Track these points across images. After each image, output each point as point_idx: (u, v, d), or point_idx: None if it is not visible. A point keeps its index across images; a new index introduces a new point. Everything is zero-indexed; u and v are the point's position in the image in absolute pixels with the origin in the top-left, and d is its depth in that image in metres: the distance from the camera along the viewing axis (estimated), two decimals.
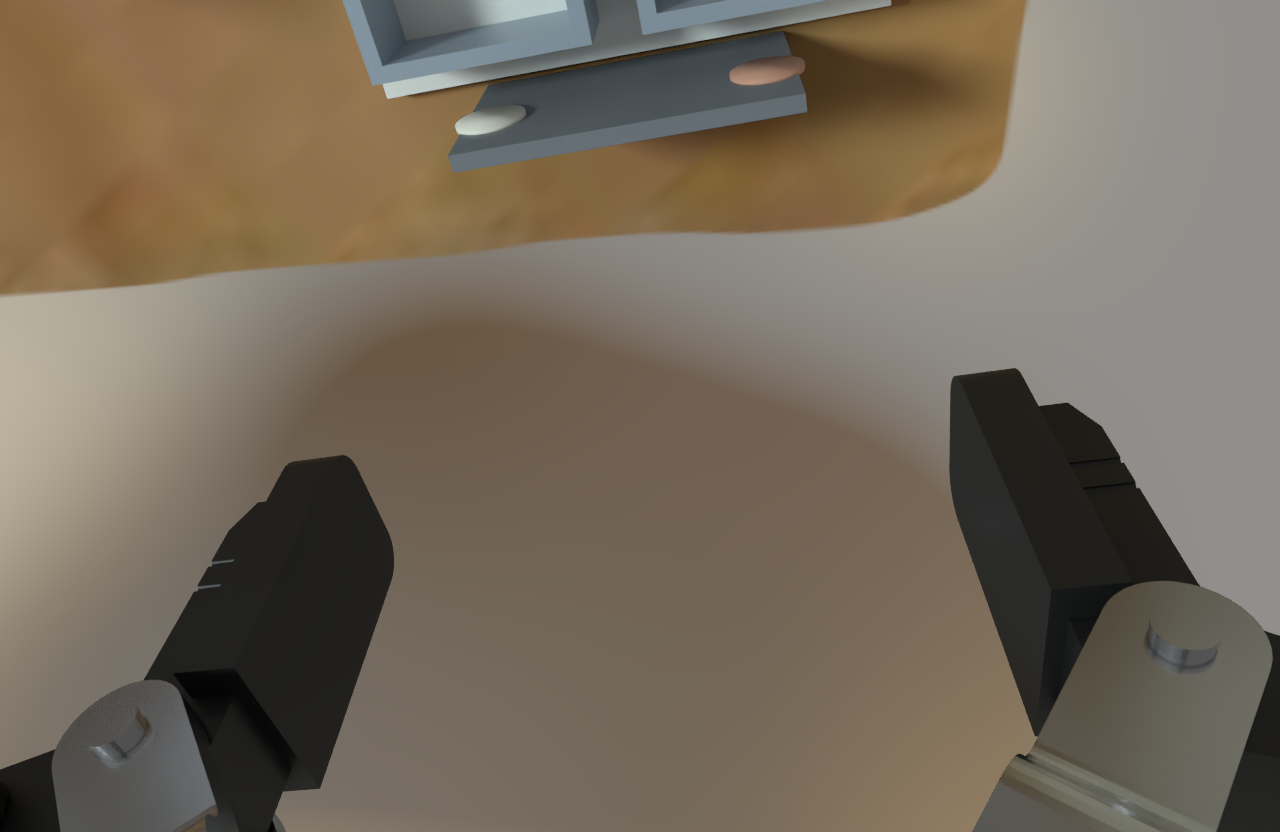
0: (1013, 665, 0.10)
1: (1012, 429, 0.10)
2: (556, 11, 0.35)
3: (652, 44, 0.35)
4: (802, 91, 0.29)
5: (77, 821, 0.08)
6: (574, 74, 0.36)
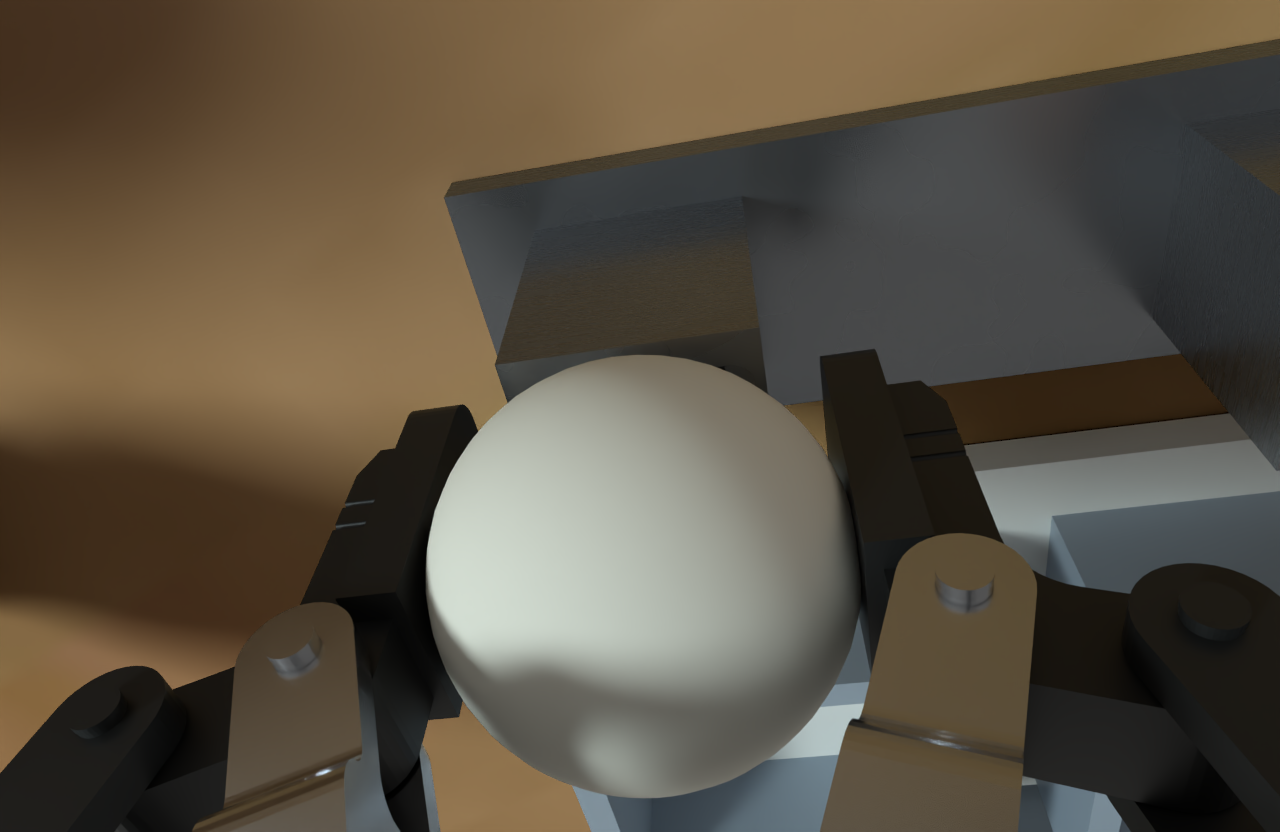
0: (860, 620, 0.11)
1: (858, 403, 0.11)
2: None
3: (1025, 780, 0.23)
4: None
5: (244, 726, 0.08)
6: None
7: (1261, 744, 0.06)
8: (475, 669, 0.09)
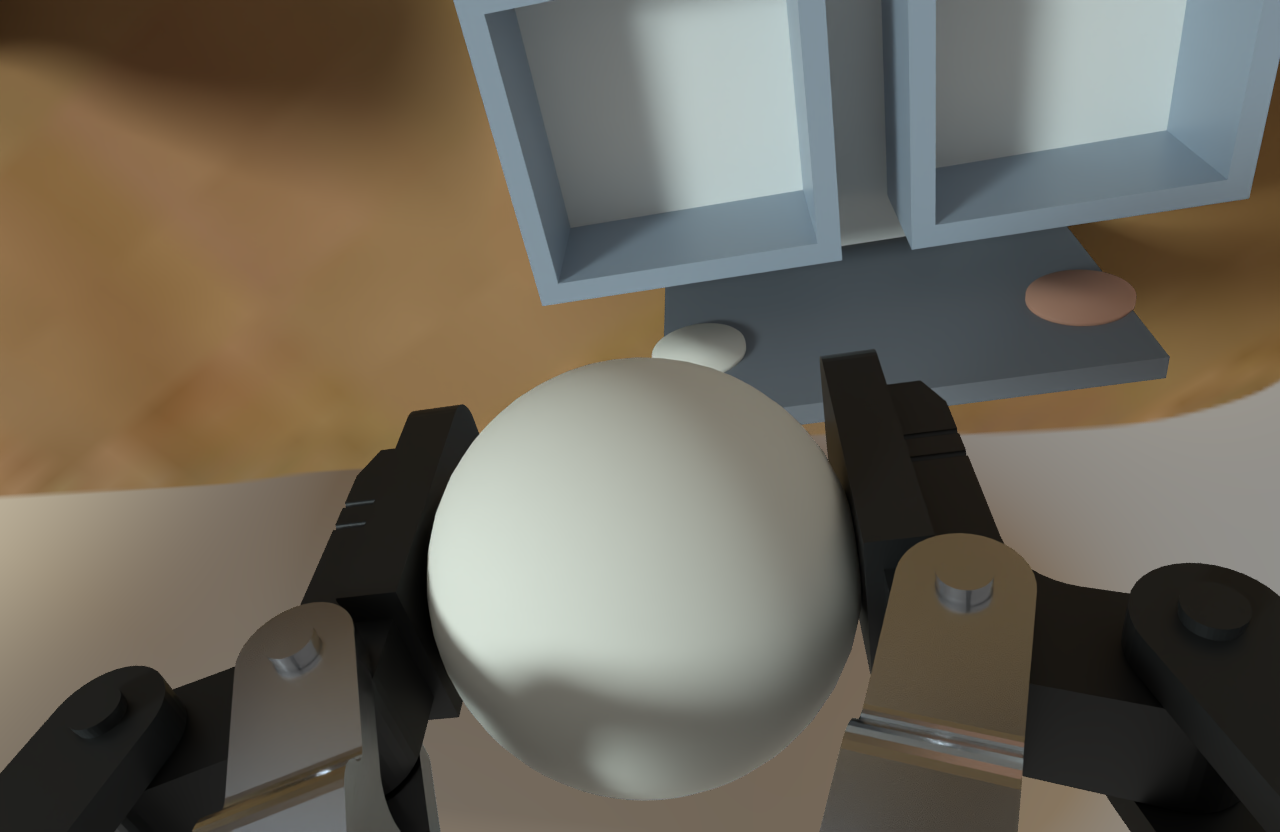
0: (860, 620, 0.11)
1: (858, 403, 0.11)
2: (769, 194, 0.27)
3: (889, 232, 0.27)
4: (1161, 350, 0.21)
5: (245, 726, 0.08)
6: None
7: (1261, 744, 0.06)
8: (477, 672, 0.09)
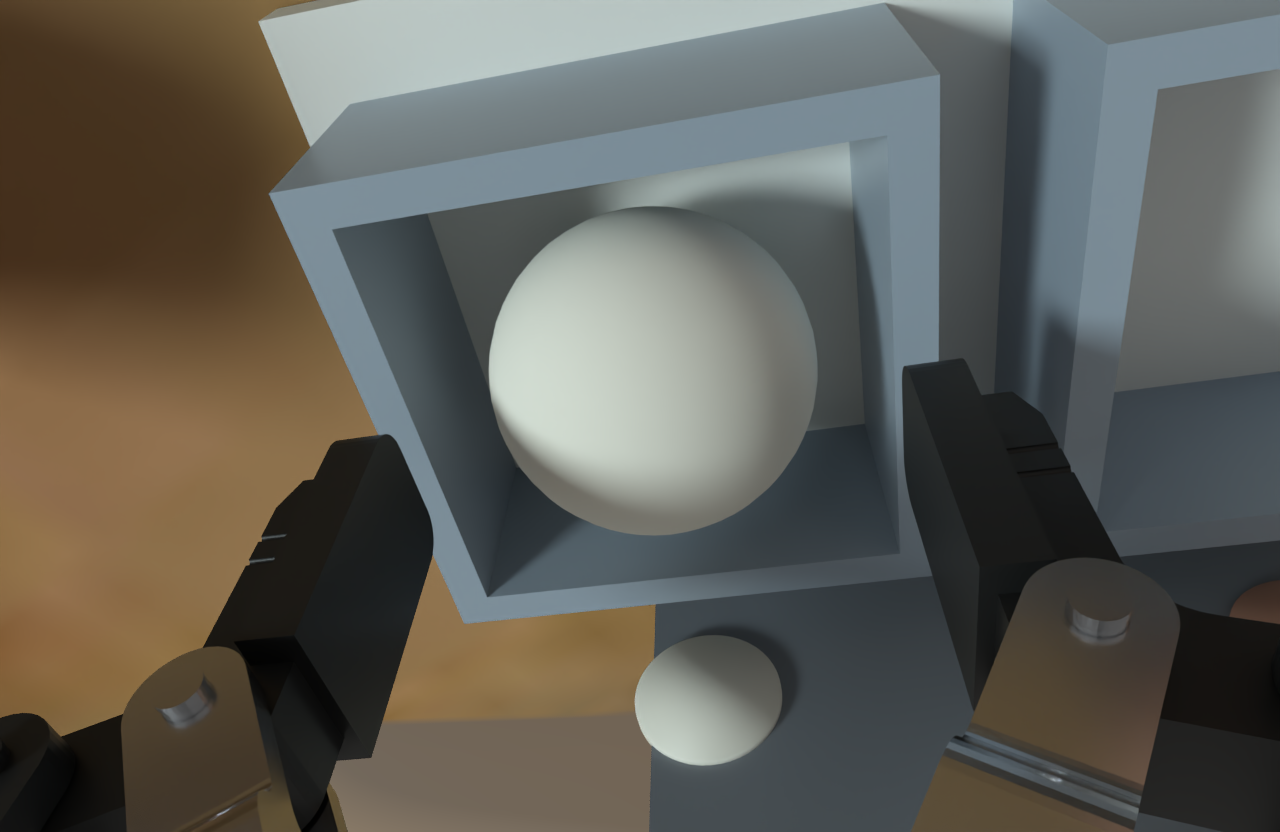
0: (955, 644, 0.10)
1: (955, 416, 0.10)
2: (813, 429, 0.18)
3: None
4: None
5: (140, 781, 0.08)
6: None
7: None
8: (532, 418, 0.12)
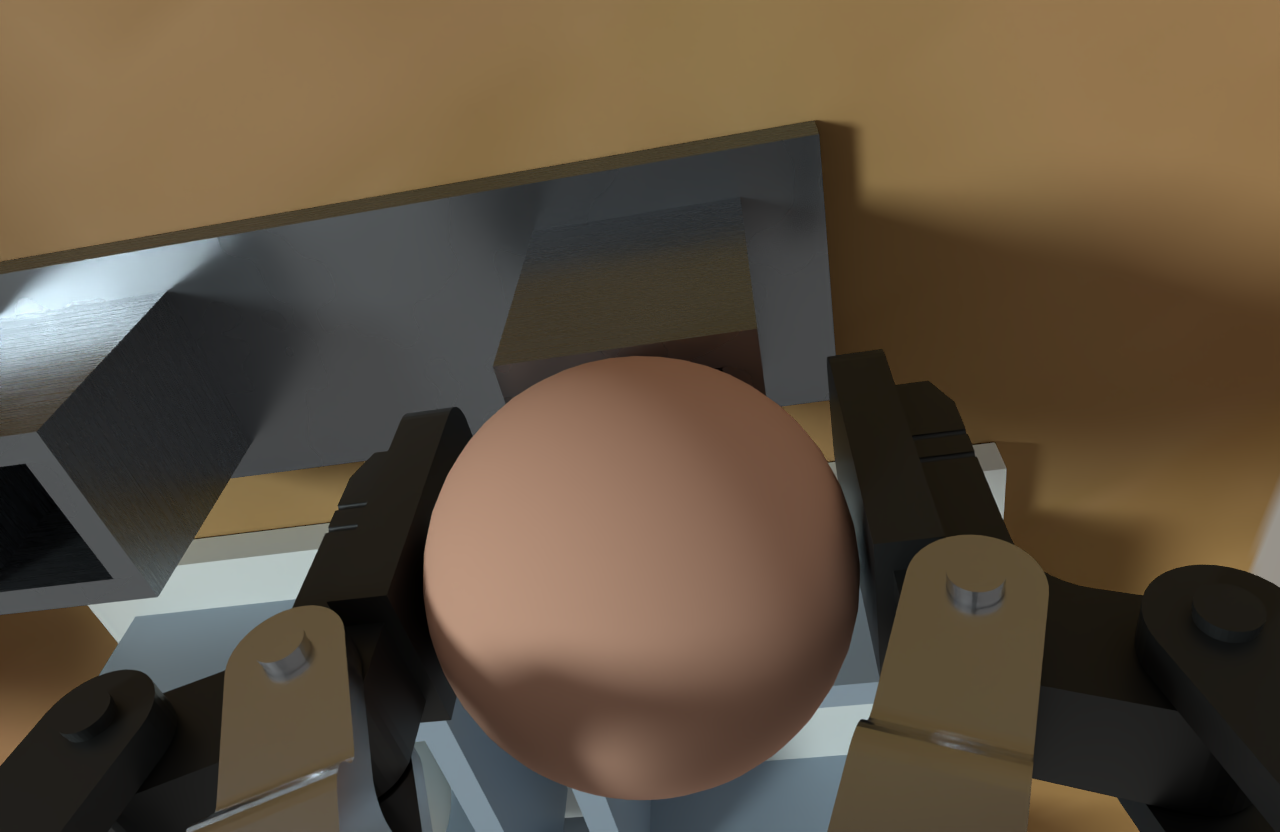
0: (868, 621, 0.11)
1: (867, 403, 0.11)
2: None
3: None
4: None
5: (235, 730, 0.08)
6: None
7: (1274, 748, 0.06)
8: None
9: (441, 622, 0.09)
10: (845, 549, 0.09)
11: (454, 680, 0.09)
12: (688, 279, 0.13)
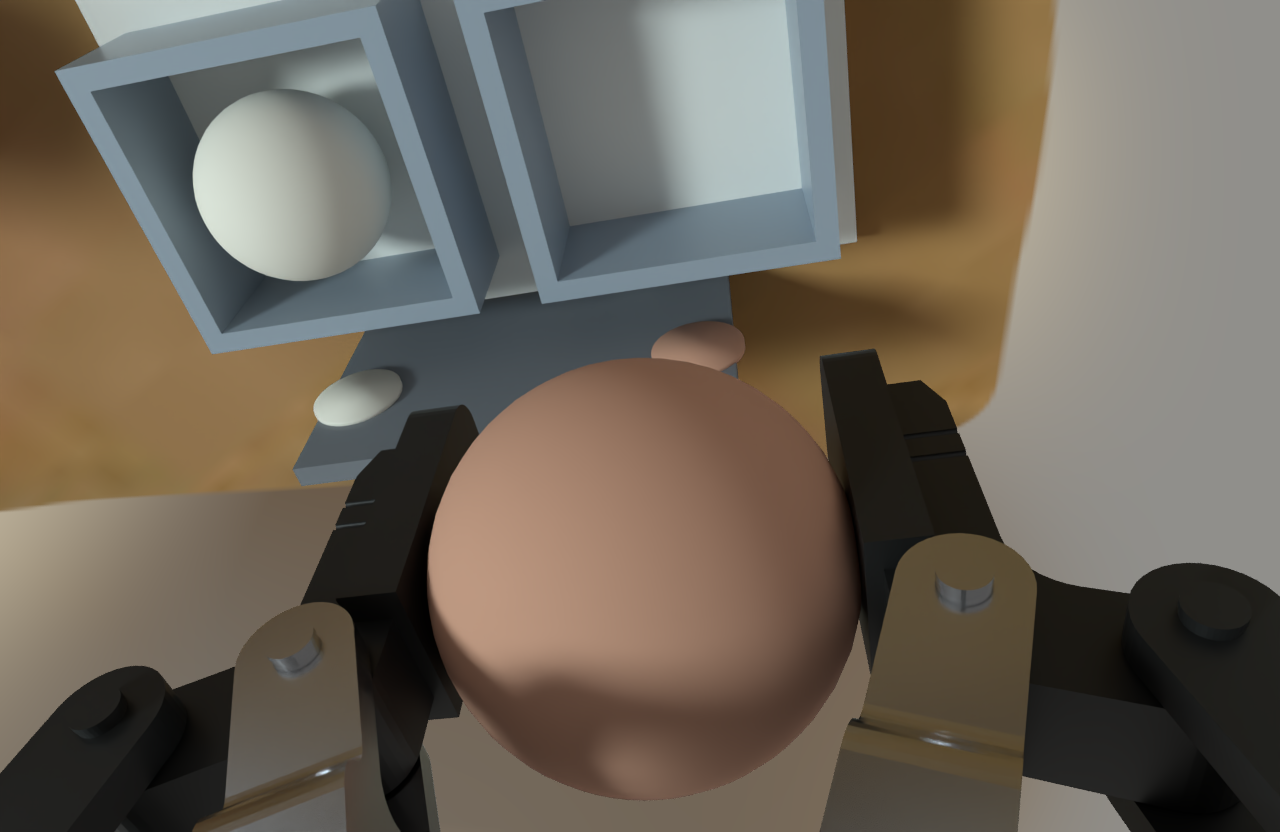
0: (860, 620, 0.11)
1: (859, 403, 0.11)
2: None
3: None
4: None
5: (245, 726, 0.08)
6: None
7: (1261, 744, 0.06)
8: (202, 199, 0.23)
9: (445, 623, 0.09)
10: (848, 550, 0.09)
11: (458, 681, 0.09)
12: None
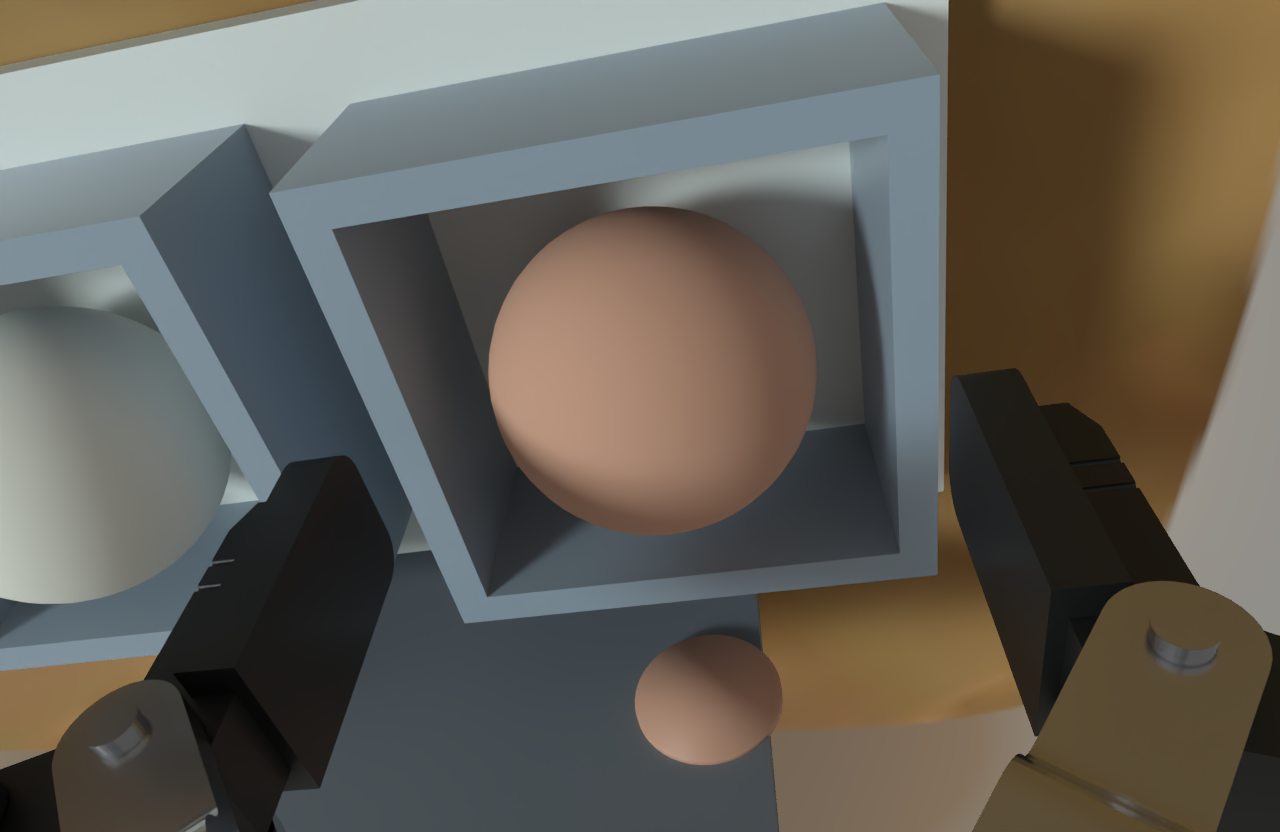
0: (1013, 665, 0.10)
1: (1012, 429, 0.10)
2: None
3: None
4: None
5: (77, 821, 0.08)
6: None
7: None
8: None
9: (506, 390, 0.13)
10: (803, 339, 0.13)
11: (515, 435, 0.13)
12: None
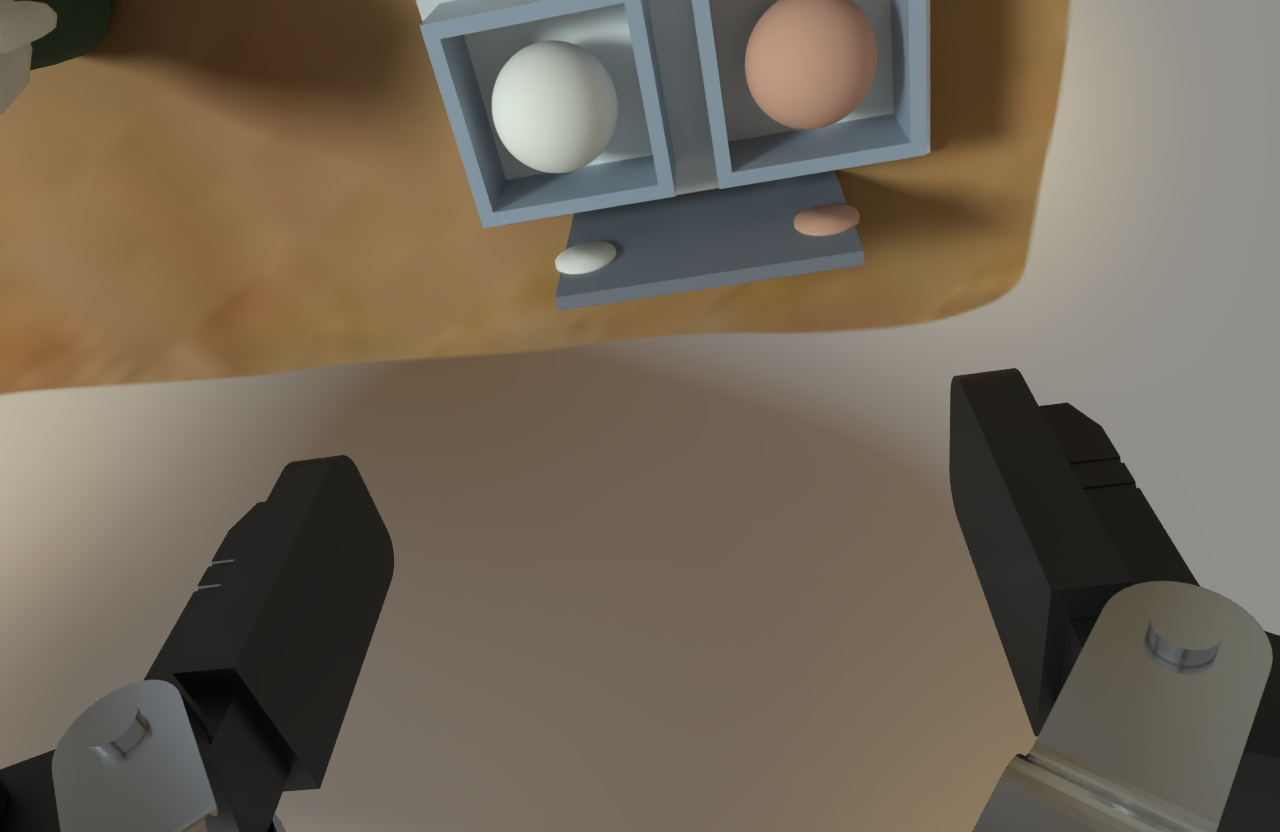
0: (1013, 665, 0.10)
1: (1012, 429, 0.10)
2: (638, 156, 0.40)
3: None
4: (860, 247, 0.34)
5: (77, 821, 0.08)
6: (651, 206, 0.41)
7: None
8: (505, 112, 0.34)
9: (761, 55, 0.33)
10: (874, 37, 0.33)
11: (763, 73, 0.33)
12: None
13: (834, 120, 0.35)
